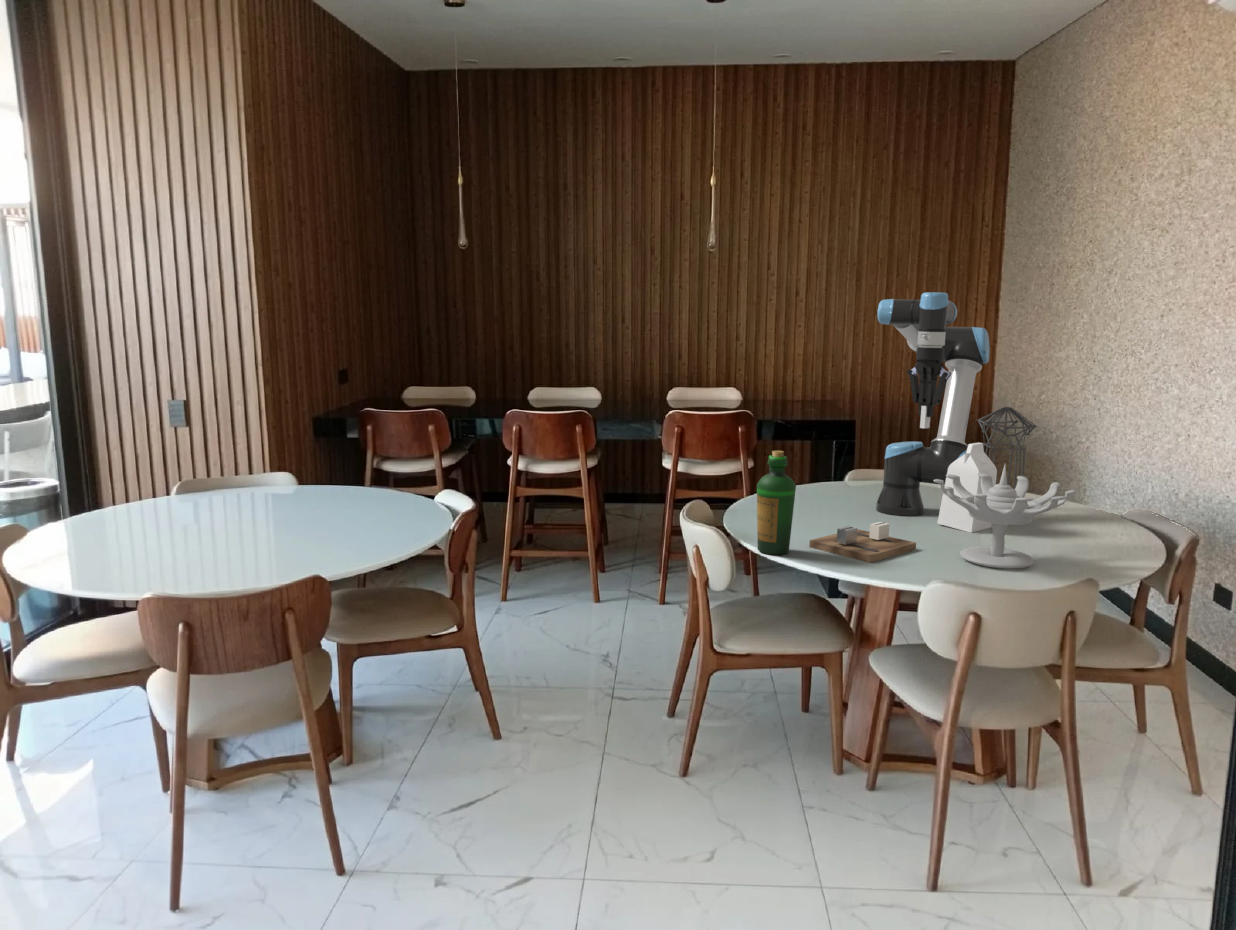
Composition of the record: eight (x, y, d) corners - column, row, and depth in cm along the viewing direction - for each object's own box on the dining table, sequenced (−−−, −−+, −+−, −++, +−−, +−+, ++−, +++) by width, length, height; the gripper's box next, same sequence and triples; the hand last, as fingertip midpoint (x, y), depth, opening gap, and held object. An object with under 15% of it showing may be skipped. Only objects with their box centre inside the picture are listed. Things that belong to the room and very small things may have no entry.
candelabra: (913, 565, 241) (921, 463, 236) (947, 538, 269) (955, 447, 265) (1054, 588, 222) (1066, 479, 217) (1075, 557, 251) (1085, 460, 246)
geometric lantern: (968, 503, 318) (976, 403, 312) (1014, 505, 317) (1024, 405, 311) (981, 513, 303) (990, 408, 297) (1030, 515, 301) (1040, 410, 295)
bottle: (751, 546, 257) (755, 448, 252) (789, 546, 257) (794, 448, 252) (756, 556, 247) (760, 454, 242) (795, 557, 246) (801, 455, 242)
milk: (957, 518, 293) (968, 438, 287) (991, 527, 284) (1003, 445, 279) (937, 523, 285) (948, 441, 280) (971, 532, 277) (983, 448, 271)
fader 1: (836, 542, 253) (837, 528, 252) (847, 539, 256) (848, 525, 255) (845, 544, 251) (846, 530, 250) (856, 542, 254) (857, 527, 253)
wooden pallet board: (809, 546, 257) (809, 539, 257) (855, 535, 271) (856, 528, 271) (869, 562, 242) (870, 555, 242) (915, 549, 256) (916, 542, 256)
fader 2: (869, 537, 259) (870, 523, 258) (879, 535, 262) (880, 521, 261) (878, 540, 256) (879, 525, 256) (888, 537, 260) (889, 523, 259)
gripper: (903, 345, 265) (897, 426, 269) (944, 347, 256) (938, 431, 260) (917, 345, 270) (912, 424, 274) (958, 347, 260) (951, 429, 264)
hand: (924, 427), depth 267 cm, fingers closed
